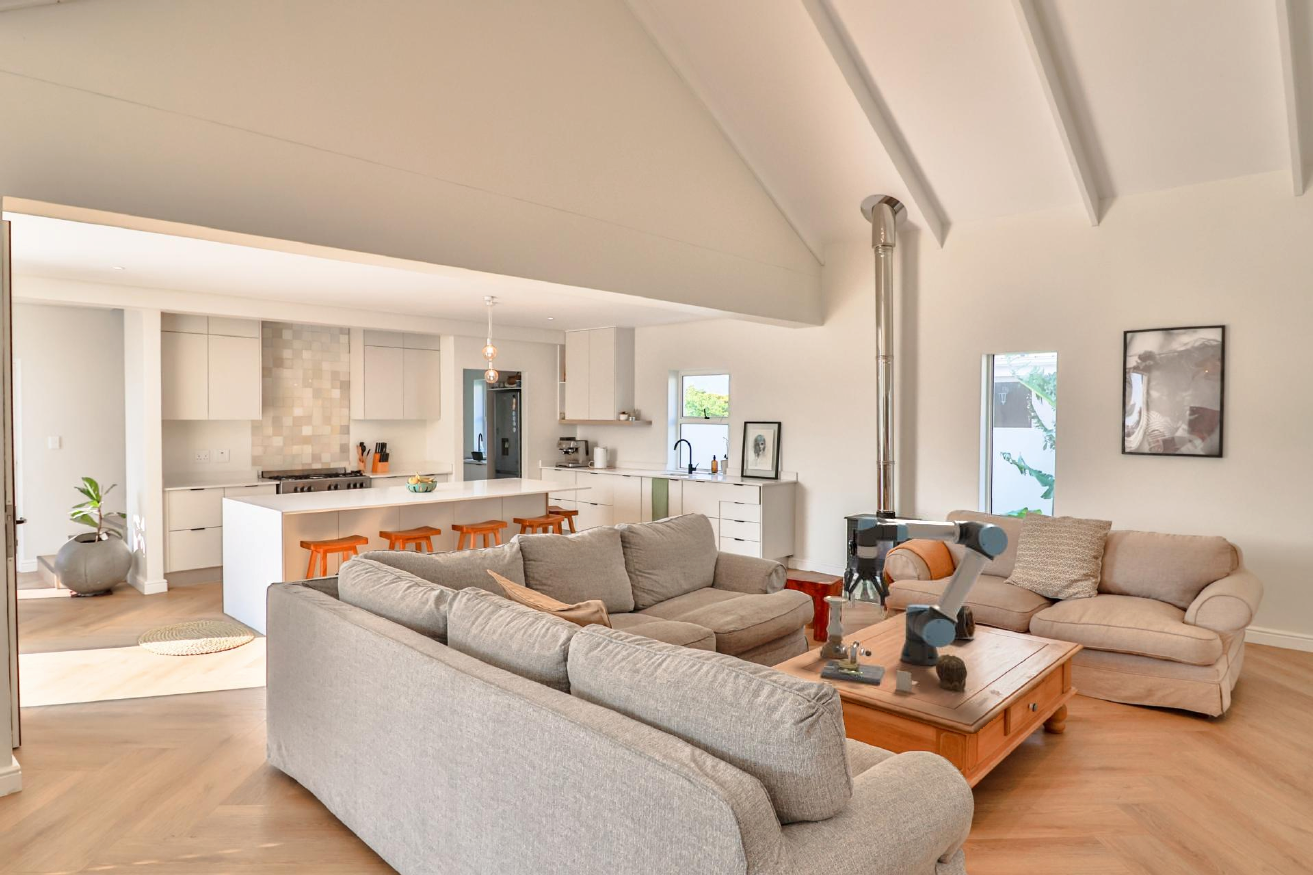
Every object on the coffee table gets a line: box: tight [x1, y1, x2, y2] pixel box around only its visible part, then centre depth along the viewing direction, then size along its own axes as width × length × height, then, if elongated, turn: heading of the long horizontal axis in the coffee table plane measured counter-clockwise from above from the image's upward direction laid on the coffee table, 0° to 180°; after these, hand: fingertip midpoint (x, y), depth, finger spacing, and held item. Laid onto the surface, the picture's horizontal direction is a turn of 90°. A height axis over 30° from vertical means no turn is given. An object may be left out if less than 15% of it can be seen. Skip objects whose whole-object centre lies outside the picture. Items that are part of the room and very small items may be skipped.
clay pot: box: [954, 605, 976, 640], centre depth 366 cm, size 15×15×25 cm
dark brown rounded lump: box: [935, 653, 968, 693], centre depth 293 cm, size 11×11×12 cm
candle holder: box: [821, 595, 850, 660], centre depth 334 cm, size 11×11×24 cm
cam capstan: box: [833, 640, 872, 671], centre depth 309 cm, size 14×14×9 cm
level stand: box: [820, 659, 885, 686], centre depth 308 cm, size 22×16×4 cm
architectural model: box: [895, 669, 919, 693], centre depth 291 cm, size 3×7×7 cm, turn 48°
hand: (866, 611), depth 311 cm, fingers open, 11 cm apart
